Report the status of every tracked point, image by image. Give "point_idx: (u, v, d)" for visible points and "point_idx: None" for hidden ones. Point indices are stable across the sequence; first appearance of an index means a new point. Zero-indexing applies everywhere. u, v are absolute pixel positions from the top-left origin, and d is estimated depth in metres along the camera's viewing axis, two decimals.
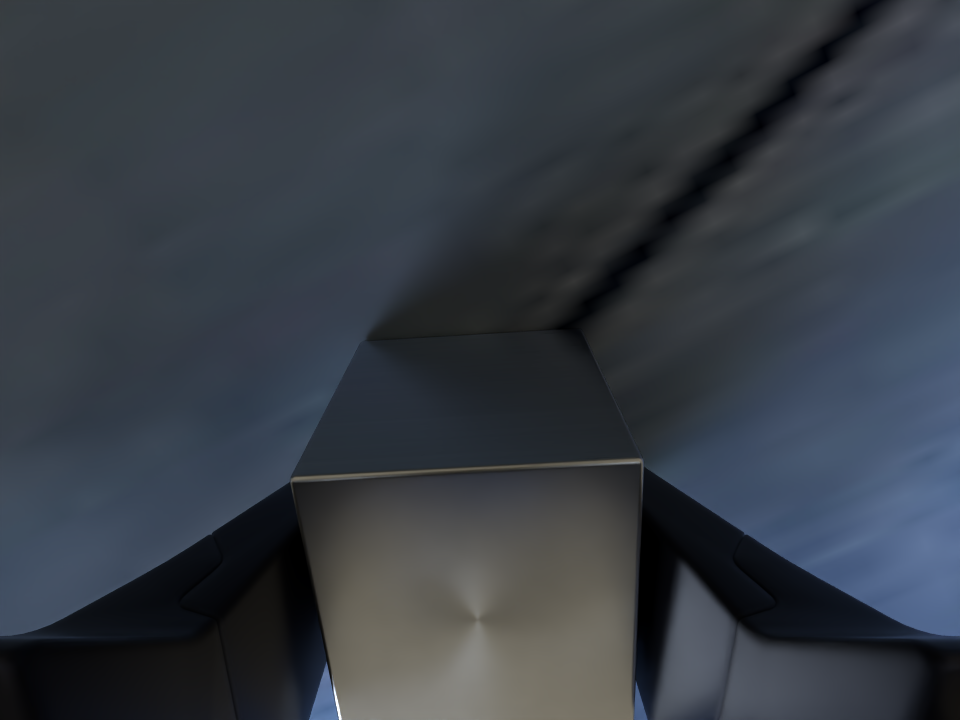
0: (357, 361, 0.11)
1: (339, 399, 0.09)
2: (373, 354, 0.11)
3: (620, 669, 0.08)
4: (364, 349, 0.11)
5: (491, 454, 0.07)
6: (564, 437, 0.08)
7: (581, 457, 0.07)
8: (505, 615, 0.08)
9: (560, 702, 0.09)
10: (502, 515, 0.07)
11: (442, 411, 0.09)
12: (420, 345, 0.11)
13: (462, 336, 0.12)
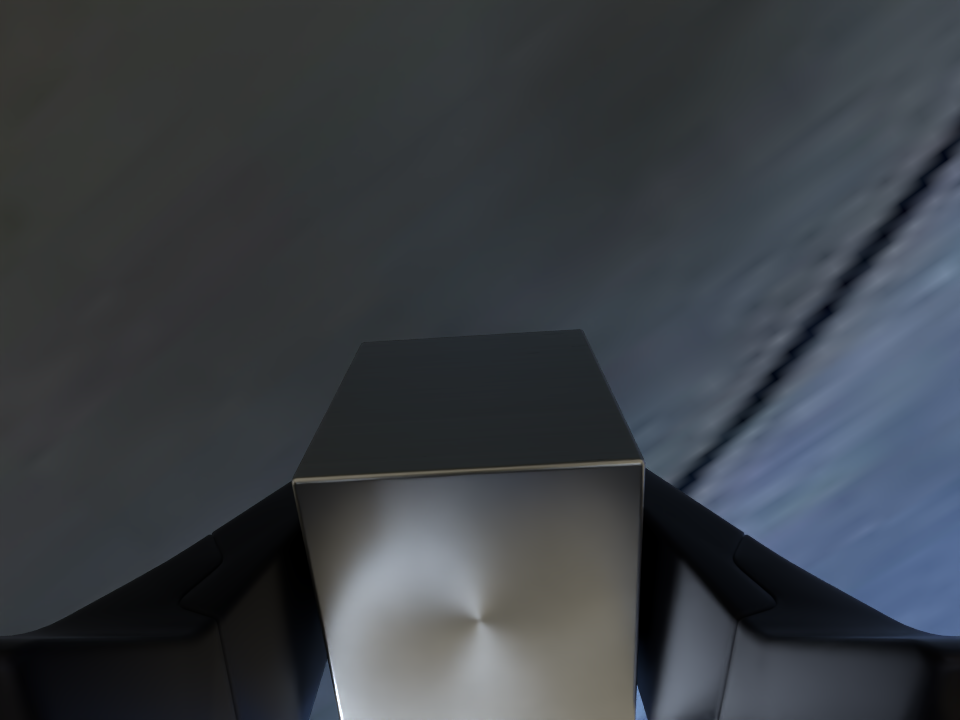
0: (358, 362, 0.11)
1: (340, 400, 0.09)
2: (374, 355, 0.11)
3: (621, 670, 0.08)
4: (365, 349, 0.11)
5: (492, 455, 0.07)
6: (565, 437, 0.08)
7: (581, 459, 0.07)
8: (507, 616, 0.08)
9: (562, 703, 0.09)
10: (503, 517, 0.07)
11: (443, 412, 0.09)
12: (421, 346, 0.11)
13: (463, 337, 0.12)
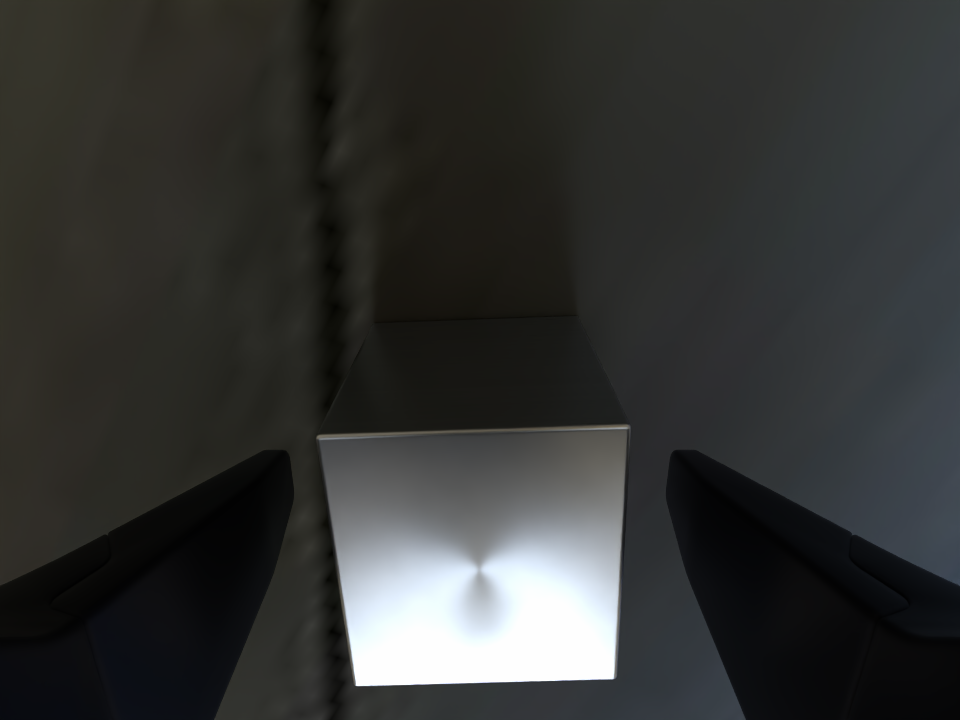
0: (370, 341, 0.12)
1: (356, 372, 0.10)
2: (385, 334, 0.12)
3: (606, 618, 0.09)
4: (376, 330, 0.12)
5: (496, 418, 0.08)
6: (561, 405, 0.09)
7: (575, 422, 0.08)
8: (504, 566, 0.09)
9: (551, 649, 0.10)
10: (503, 474, 0.08)
11: (450, 383, 0.10)
12: (428, 327, 0.12)
13: (467, 320, 0.12)
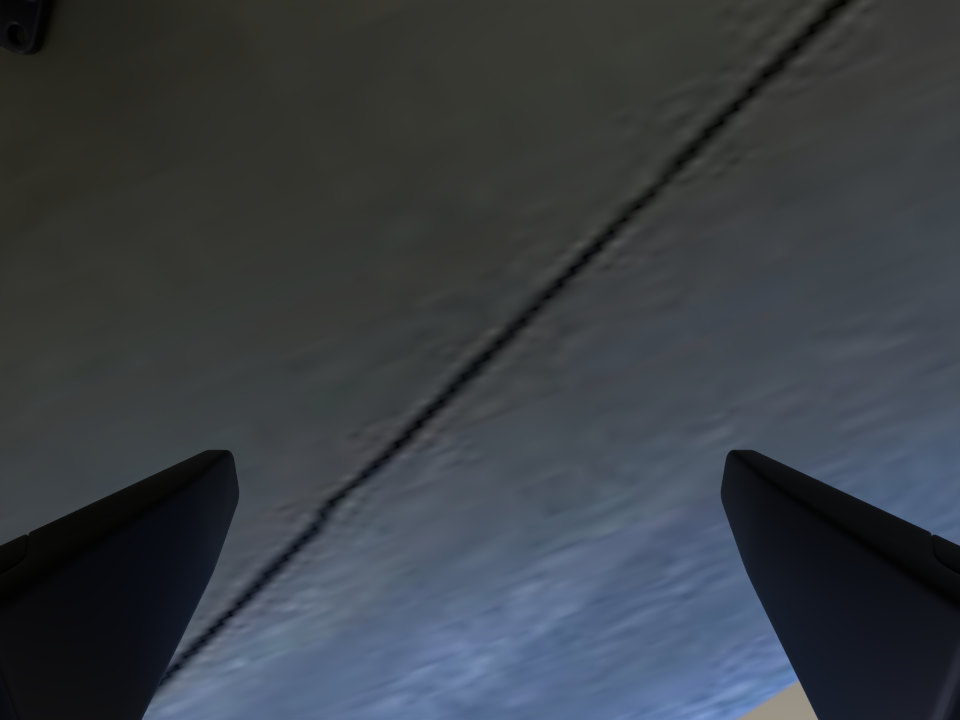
0: None
1: None
2: None
3: None
4: None
5: None
6: None
7: None
8: None
9: None
10: None
11: None
12: None
13: None
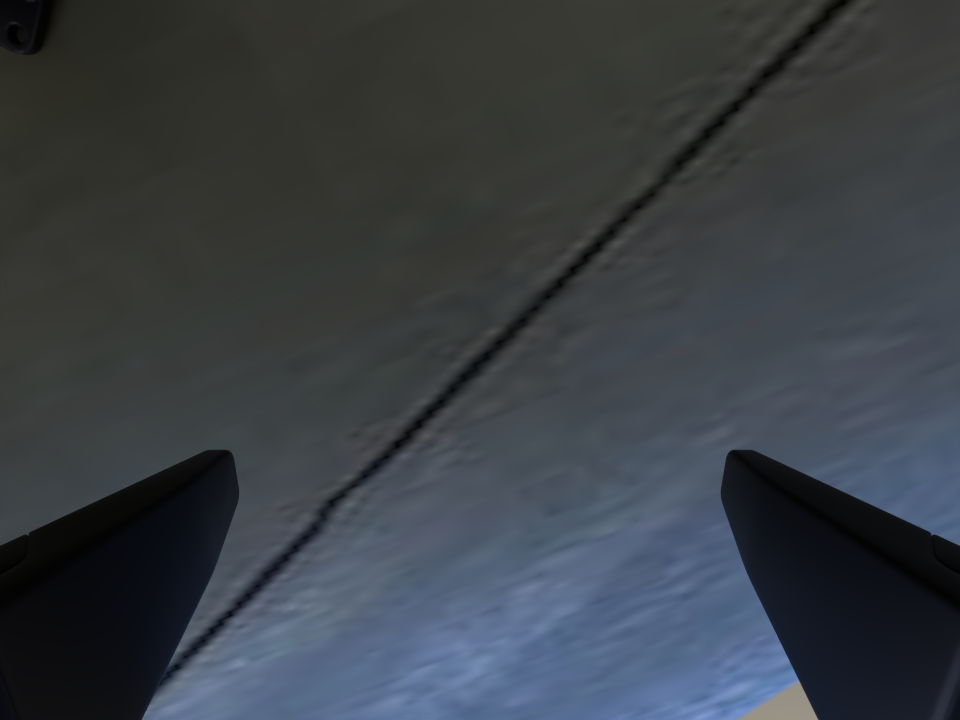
0: None
1: None
2: None
3: None
4: None
5: None
6: None
7: None
8: None
9: None
10: None
11: None
12: None
13: None
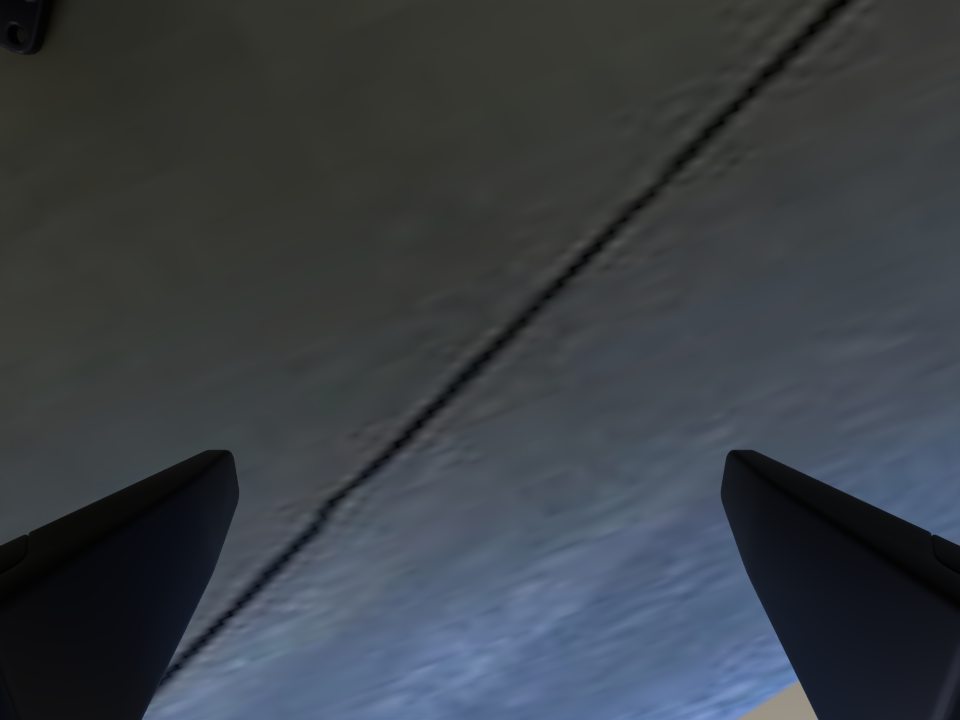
0: None
1: None
2: None
3: None
4: None
5: None
6: None
7: None
8: None
9: None
10: None
11: None
12: None
13: None
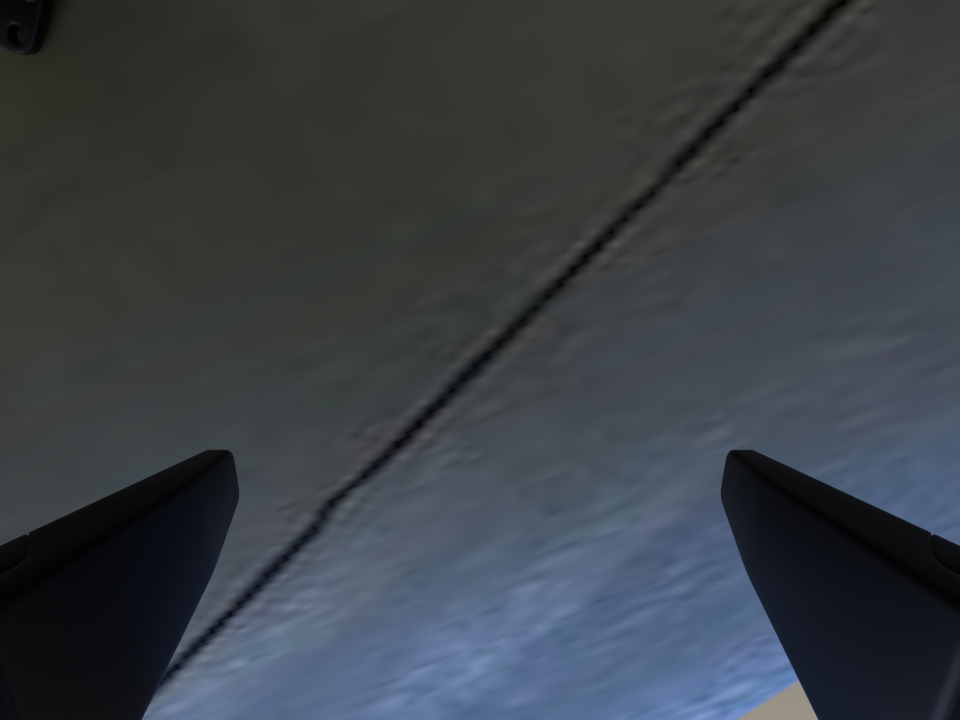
0: None
1: None
2: None
3: None
4: None
5: None
6: None
7: None
8: None
9: None
10: None
11: None
12: None
13: None
